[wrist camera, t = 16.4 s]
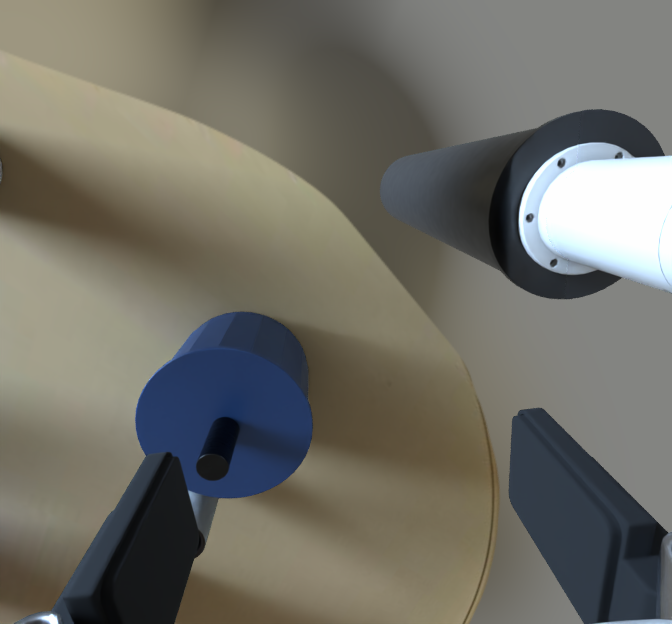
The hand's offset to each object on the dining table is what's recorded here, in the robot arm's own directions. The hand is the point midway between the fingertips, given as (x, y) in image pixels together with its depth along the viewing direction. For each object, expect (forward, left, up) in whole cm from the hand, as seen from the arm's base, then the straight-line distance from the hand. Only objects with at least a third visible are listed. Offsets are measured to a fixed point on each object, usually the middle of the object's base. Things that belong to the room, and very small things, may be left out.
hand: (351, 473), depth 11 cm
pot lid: (+9, +10, -19) cm, 23 cm away
